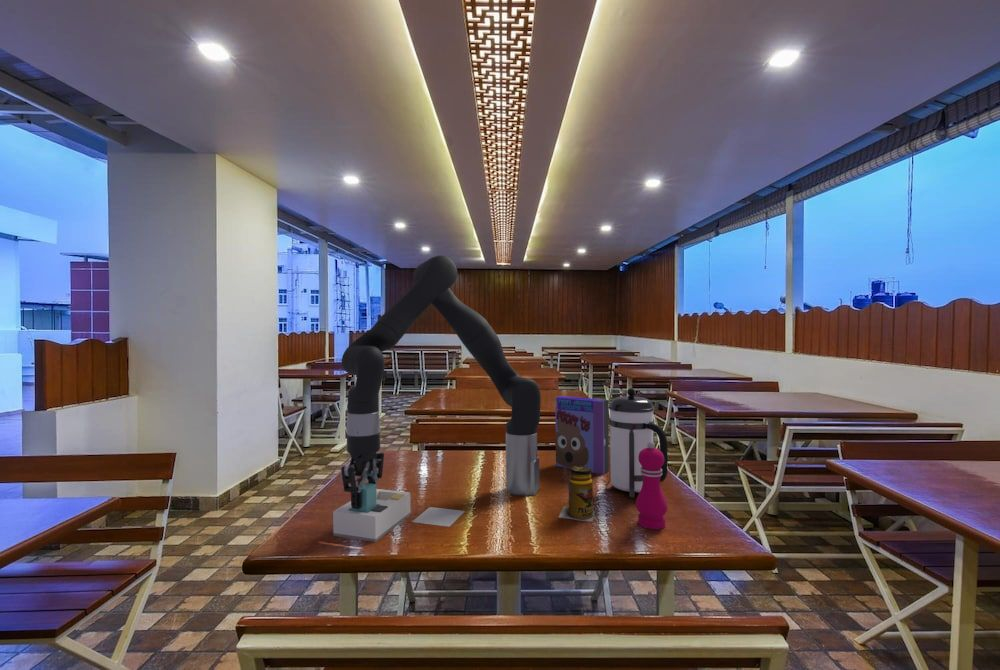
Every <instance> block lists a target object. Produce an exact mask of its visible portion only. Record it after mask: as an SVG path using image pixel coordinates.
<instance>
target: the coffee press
mask: <svg viewBox="0 0 1000 670" xmlns="http://www.w3.org/2000/svg"><path fill="white" fill-rule="evenodd" d="M626 393H627V395H628V396H627V395H626V396H617V397H615V398H613V399H612V400H611V401H610V404H609V414H610V415H609V463H610V479H609V480H608V482H607V483H606V484H605V489H606V490H607V491H610V490H611V489H613V488H616V489H618V490H621V491H624V492H628V494H629V495H628V496H629V500H635V493H640V491H641V488H642V485H643V476H642V474H641V467H642V465H641V464H640V463H639V460H638V456H639V453H640V451H641V450H642V449H644V448H648V446H647V444H648V442H650V441H651V442H654V443H655V434H656V435H657V436H658V439H659V441H658V442H659V450H660V451H661V452H662V453H663V455H664V464H663V466H662V467H661V469H662V476H660V483H662V482H664V481H665V480H666V479H667V476H668V456H669V455H668V439H667V435H666V433H665V431H664V429H663V428H662V427H661V426H660V425H658V424H655V420H654V411H655V406H654V405H653V403H652V401H651V400H650V399H648V398H645V397H643V396H642V397H641V396H635V394H636V391H635V389H634V388H628V389H627V391H626ZM609 483H611V486H610V487H607V486H608V485H609Z"/></svg>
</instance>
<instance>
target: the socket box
mask: <svg viewBox="0 0 1000 670" xmlns="http://www.w3.org/2000/svg"><path fill="white" fill-rule="evenodd" d="M332 511H333V512H332V514H333V515H332V516H333V517H332V518H333V519H332V521H333V522H332V523H333V525H332V526H333V530H332V531H333V537H339V538H345V539H352V540H360V541H366V542H373V543H377V542H378V541H379V540H380V539H381V538H383V537H384V536H385V535H386V534H388V533H389V532H391V530H392V531H393V529H394V528H396V527H397V526H398V525H400V524H401V523H402V522H403V521H404V520H406V519H407V518H408V517H409V516H411V492H407V491H401V490H400V491H398V490H391V489H382V488H380V489H379V488H376V507H375V508H373V509H372V510H371V511H370V512H368V513H364V512H356V511H352V507H351V500H350V501H348V502H347V503H344V505H341V506H339V507H338V508H336V509H335V510H332Z"/></svg>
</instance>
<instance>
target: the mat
mask: <svg viewBox="0 0 1000 670" xmlns="http://www.w3.org/2000/svg"><path fill="white" fill-rule="evenodd" d="M464 513H465V510H460V509H459V510H458V509H450V508H449V509H448V508H444V507H443V508H440V507H432V506H429V507H427V509H426V510H424V511H423V512H422V513H421V514H420V515H418V516H417V517H416V518H415V519H413V520H411V523H417V524H423V525H424V524H425V525H431V526H432V525H433V526H440V527H448V528H449V527H451V526H452V525H453V524H454V523H455V522H456V521H457V520H459V518H460V517H461V516H462V515H463V514H464Z"/></svg>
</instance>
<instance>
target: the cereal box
mask: <svg viewBox="0 0 1000 670" xmlns="http://www.w3.org/2000/svg"><path fill="white" fill-rule="evenodd" d="M554 403H555V407H554V409H555V411H554V413H555V415H554V416H555V417H554V419H555V467H557V468H561V469H562V468H563V469H568V470H570V469H571V467H573V466H585V467H588V468H590V469H591V474H597V475H602V476H604V475H605V474H607V473H608V472H609V473H610V436H609V418H610V415H609V414H610V410H609V405H610V404H609V403H610V402H609V399H601V398H598V399H597V398H590V397H589V398H588V397H577V396H576V397H574V396H565V395H564V396H563V395H561V396H560V395H559V396H556V397H555V401H554Z"/></svg>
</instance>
